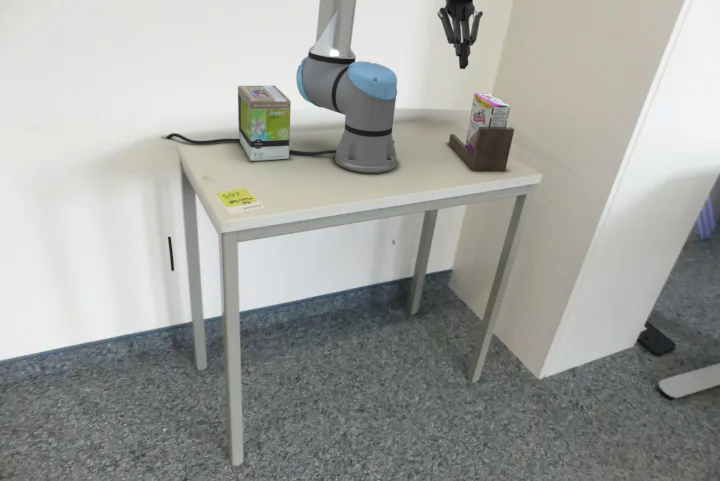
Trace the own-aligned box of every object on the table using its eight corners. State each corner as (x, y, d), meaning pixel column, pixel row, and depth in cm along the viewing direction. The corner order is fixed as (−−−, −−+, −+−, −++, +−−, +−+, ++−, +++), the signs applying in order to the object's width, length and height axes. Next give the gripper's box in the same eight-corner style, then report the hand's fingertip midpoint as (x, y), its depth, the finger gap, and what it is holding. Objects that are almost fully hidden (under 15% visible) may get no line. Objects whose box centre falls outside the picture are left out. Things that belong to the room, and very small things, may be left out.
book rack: (472, 170, 141) (480, 128, 135) (448, 144, 157) (454, 105, 152) (505, 171, 143) (514, 129, 137) (477, 144, 159) (485, 106, 154)
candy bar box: (462, 152, 152) (473, 92, 144) (479, 152, 153) (490, 92, 145) (480, 168, 143) (493, 105, 134) (498, 168, 144) (511, 105, 136)
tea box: (290, 159, 138) (291, 100, 131) (250, 162, 134) (249, 101, 127) (275, 138, 150) (275, 83, 143) (237, 141, 146) (236, 84, 139)
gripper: (441, -21, 153) (446, 57, 149) (485, -17, 156) (491, 61, 151) (432, -4, 161) (436, 71, 156) (475, 0, 163) (480, 74, 158)
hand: (464, 66), depth 154 cm, fingers closed
